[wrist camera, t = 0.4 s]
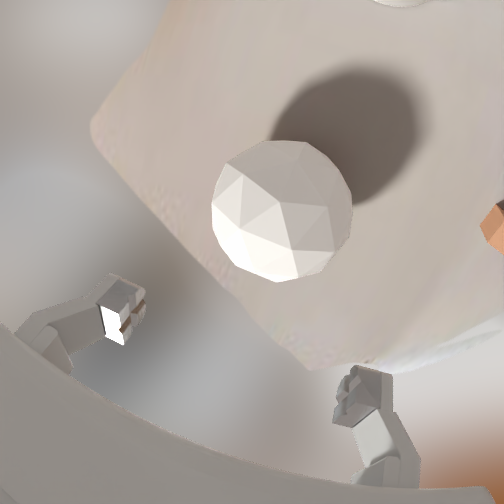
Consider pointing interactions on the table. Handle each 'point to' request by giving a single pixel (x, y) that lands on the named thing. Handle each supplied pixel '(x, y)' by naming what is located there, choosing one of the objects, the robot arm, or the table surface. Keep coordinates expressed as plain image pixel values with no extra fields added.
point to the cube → (494, 228)
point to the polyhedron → (281, 210)
